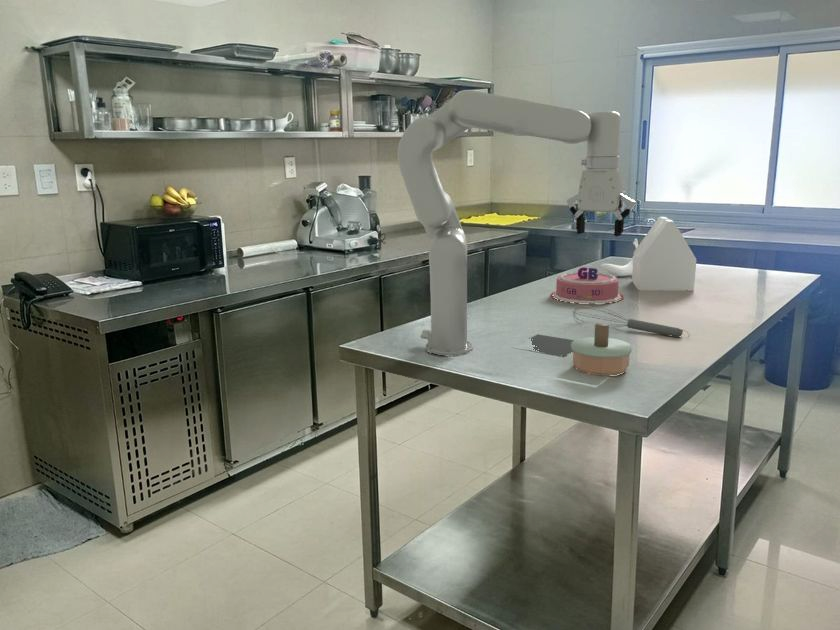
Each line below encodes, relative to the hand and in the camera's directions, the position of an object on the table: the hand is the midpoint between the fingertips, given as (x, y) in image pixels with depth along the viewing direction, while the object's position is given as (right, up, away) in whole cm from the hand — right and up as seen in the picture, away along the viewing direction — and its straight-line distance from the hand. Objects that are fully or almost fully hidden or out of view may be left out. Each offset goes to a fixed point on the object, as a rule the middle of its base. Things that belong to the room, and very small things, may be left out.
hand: (599, 234), depth 167 cm
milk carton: (+46, -10, +82) cm, 95 cm away
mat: (-10, -29, +12) cm, 32 cm away
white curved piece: (+37, -5, +102) cm, 108 cm away
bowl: (-1, -33, -7) cm, 34 cm away
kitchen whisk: (+15, -25, +26) cm, 39 cm away
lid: (-2, -28, -8) cm, 29 cm away
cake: (+14, -14, +68) cm, 71 cm away
